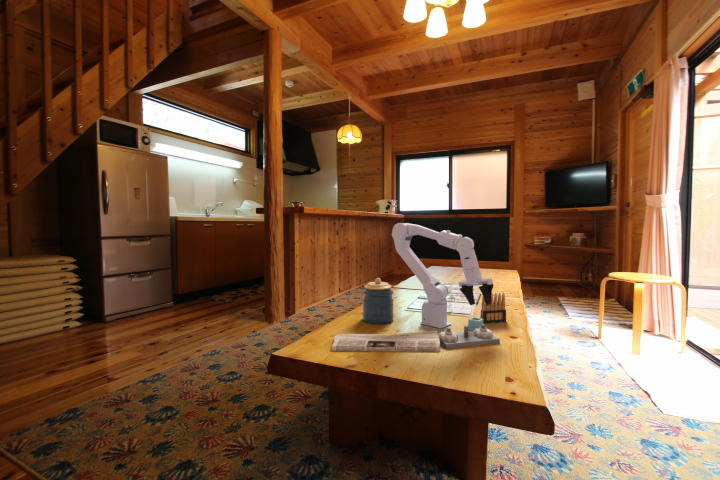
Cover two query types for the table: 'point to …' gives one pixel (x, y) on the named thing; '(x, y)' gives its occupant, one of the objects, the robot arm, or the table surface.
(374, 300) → the canister
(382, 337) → the newspaper
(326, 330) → the table surface
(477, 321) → the teal gear
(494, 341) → the gear board
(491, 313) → the ammunition clip
